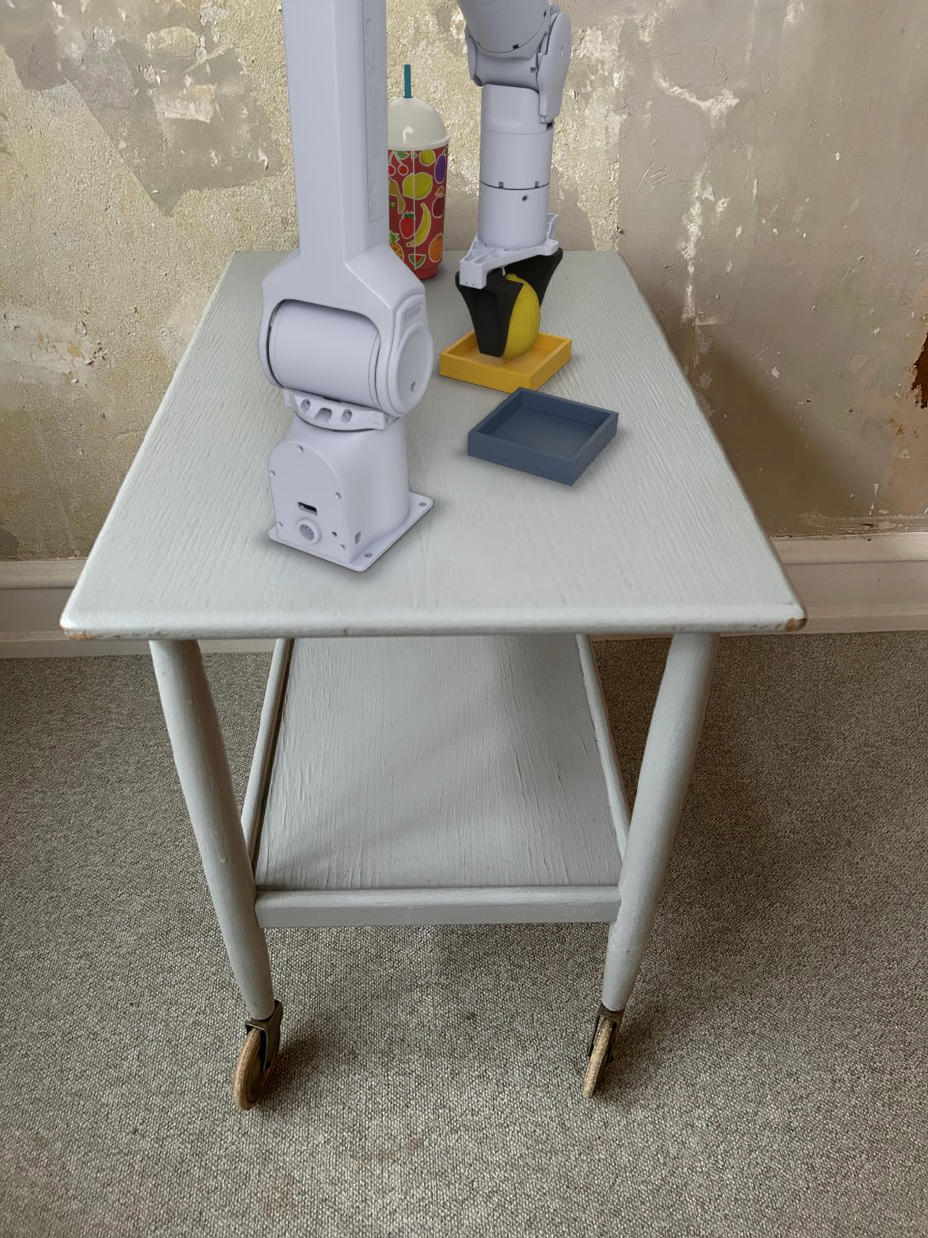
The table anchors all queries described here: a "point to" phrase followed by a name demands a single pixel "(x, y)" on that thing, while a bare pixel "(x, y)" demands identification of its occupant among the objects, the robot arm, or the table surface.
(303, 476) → the robot arm
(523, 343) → the lemon
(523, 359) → the ochre tray
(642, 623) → the table surface
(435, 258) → the smoothie
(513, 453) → the slate tray
